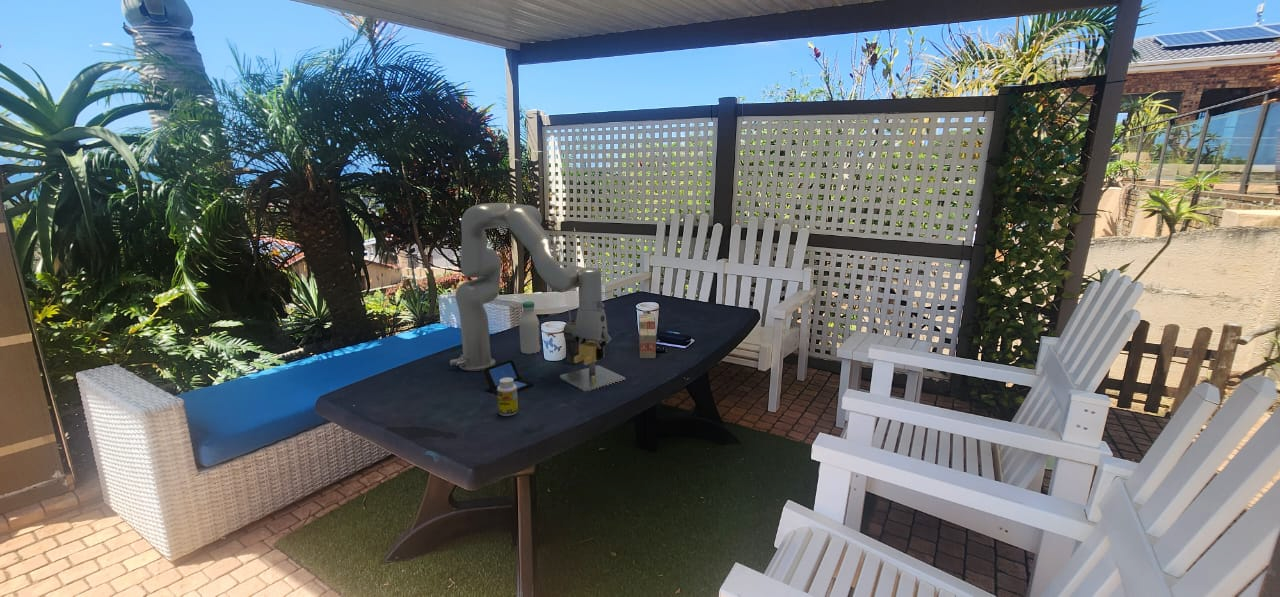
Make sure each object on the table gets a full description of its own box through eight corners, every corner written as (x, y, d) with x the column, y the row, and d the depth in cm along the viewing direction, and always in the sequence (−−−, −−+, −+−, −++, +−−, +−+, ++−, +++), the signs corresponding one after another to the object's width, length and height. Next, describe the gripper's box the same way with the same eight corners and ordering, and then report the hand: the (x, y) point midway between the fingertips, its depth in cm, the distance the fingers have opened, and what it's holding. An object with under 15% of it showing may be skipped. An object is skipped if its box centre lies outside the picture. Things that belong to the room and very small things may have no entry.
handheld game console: (506, 398, 166) (504, 375, 164) (483, 391, 172) (482, 369, 170) (535, 385, 176) (534, 364, 174) (513, 379, 182) (512, 358, 180)
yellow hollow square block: (589, 354, 184) (589, 340, 182) (604, 357, 181) (603, 343, 179) (572, 362, 176) (572, 347, 174) (587, 365, 173) (587, 350, 171)
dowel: (592, 382, 175) (592, 376, 175) (590, 381, 176) (590, 375, 176) (596, 381, 176) (596, 375, 176) (593, 380, 177) (593, 374, 177)
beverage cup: (582, 364, 196) (580, 311, 191) (562, 364, 196) (560, 311, 192) (584, 358, 203) (583, 307, 199) (565, 357, 203) (563, 307, 199)
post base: (585, 391, 170) (584, 368, 168) (559, 377, 182) (559, 355, 181) (625, 380, 180) (625, 357, 178) (598, 367, 192) (598, 346, 190)
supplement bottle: (494, 415, 153) (492, 381, 151) (506, 407, 158) (504, 375, 156) (511, 418, 151) (508, 384, 149) (522, 410, 156) (520, 377, 154)
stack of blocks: (656, 358, 202) (656, 327, 200) (639, 358, 202) (639, 327, 200) (653, 342, 223) (653, 313, 221) (638, 342, 223) (638, 313, 220)
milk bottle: (538, 354, 207) (536, 304, 203) (518, 354, 207) (515, 304, 203) (542, 348, 215) (540, 300, 211) (523, 348, 215) (520, 300, 211)
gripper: (618, 306, 174) (619, 358, 178) (576, 300, 183) (577, 350, 187) (605, 310, 168) (606, 364, 172) (562, 304, 177) (564, 356, 181)
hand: (591, 356), depth 179 cm, fingers closed on yellow hollow square block, 6 cm apart
